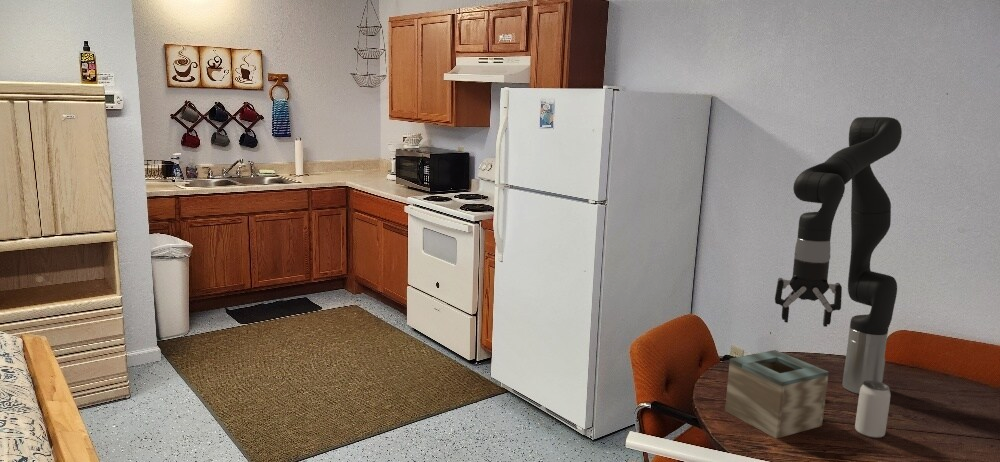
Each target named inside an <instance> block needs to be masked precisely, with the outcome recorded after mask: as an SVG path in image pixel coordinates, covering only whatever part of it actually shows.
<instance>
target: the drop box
mask: <svg viewBox="0 0 1000 462" xmlns="http://www.w3.org/2000/svg"><path fill="white" fill-rule="evenodd" d="M829 374H830V372H829V370H826V369H823V368H821V367H818V366H816V365H813V364H811V363H809V362H806V361H804V360H801V359H798V358H796V357H793V356H791V355H788V354H786V353H785V352H784V353H783V352H781V351H778V350H777V349H774V350H768V351H762V352H757V353H752V354H746V355H741V356H738V357H732V358H729V366H728V375H727V376H728V377H727V384H726V385H727V387H726V395H725V397H726V398H725V407H724V412H726V413H728V414H729V415H731V416H734V417H735V418H737V419H739V420H741V421H743V422H745V424H748V425H750V426H752V427H754V428H756V429H757V430H759V431H761V432H763V433H765V434H767V435H768V436H770V437H772V438H774V439H776V440H777V439H780V438H783V437H788V436H790V435H794V434H797V433H800V432H805V431H809V430H812V429H813V430H814V429H816V428H820V427H823V421H824V420H823V419H824V414H825V413H824V412H825V404H826V396H827V390H828V381H829Z"/></svg>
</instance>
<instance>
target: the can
mask: <svg viewBox="0 0 1000 462" xmlns="http://www.w3.org/2000/svg"><path fill="white" fill-rule="evenodd" d="M890 402H891V390H890V386H889V385H887V384H886V383H883V382H882V383H881V382H877V381H864V382H863V385H862V386H861V388H860V393H859V394H858V401H857V409H856V415H855V416H856V417H855V422H854V423H855V424H854V429H855V430H856V432H857V433H859V435H860V434H861V435H863V436H864V437H869V438H873V439H874V438H875V439H879V438H880V439H881V438H882V437H884V436H885V435H886V429H887V425H888V424H887V423H888V418H889V409H890V404H891V403H890Z"/></svg>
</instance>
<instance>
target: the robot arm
mask: <svg viewBox="0 0 1000 462" xmlns="http://www.w3.org/2000/svg"><path fill="white" fill-rule="evenodd" d="M902 132H903V130H902V125H901V123H900V121H899V120H898V119H897V118H894V117H890V116H889V117H888V116H861V117H860V116H859V117H856V118H854V119H853V120H852V122H851V123H850V125H849V131H848V146H847V147H844V148H842V149H839V150H838V151H836V152H834V153H833V154H832V155H830V157H828V159H826V160H825V161H824V162H822V163H818V164H816V165H814V166H811V167H808V168H806V169H804V170H803V171H802V172H800V174H798V176H797V177H795V179H794V183H793V194H794V195H795V197H796V198H797V199H798V200H800V201H802V202H806V203H814V204H821V206H820V208H819V210H818V211H812V212H809V211H808V212H804V213H802V214H801V215H800V216H799V220H798V229H797V238H796V242H795V247H794V254H793V255H794V259H793V265H792V266H793V267H792V268H793V269H792V277H791V279H784V278H782V277H779V278H778V279H777V284H776V288H775V289H776V290H775V295H774V296H775V297H774V303H775V304H776V305H779V306H781V307H782V309H781V319H782V320H783V322H784V323H786V324H787V323H788V324H789V313H790V305H791V304H793V302H795V301H796V300H797V299H800V300H801V301H802V300H803V301H804V300H805V301H806V300H808V301H813V302H816V301H819V302H820V303H821V305H822V306H823V307H824V310H823V318H822V319H823V320H822V326H823V327H825V328H827V327H828V325H830V324H831V322H832V313H833V311H841V309H842V297H843V296H842V295H843V293H842V292H843V289H842V285H841V283H840V282H836V283H829V282H828V278H829V268H830V259H831V237H832V229H833V222H834V219H835V216H836V214H837V210H838V209H839V206H840V204H841V201H842V199H843V197H844V193H845V189H846V184H848V183H849V182H850V181H851V198H850V199H851V200H850V202H851V203H850V223H851V224H850V225H851V226H850V228H851V229H850V230H851V232H850V233H851V241H850V242H851V244H850V245H851V246H850V259H849V270H848V277H847V278H848V280H847V293H848V297H849V298H850V299H851V300H852V301H853V302H855V303H859V304H862V305H866V306H869V307H871V308H870V311H869V314H857V315H854V316H852V317H851V319H850V324H849V330H848V331H849V332H848V339H847V347H846V353H845V363H844V368H843V376H842V388H844V389H845V390H847V391H849V392H851V393H854V394H856V395H857V394H858V395H859V393H860V388H861V386H862V385H863V382H864V381H877V382H881V383H883V380H884V372H885V364H886V357H885V354H886V348H887V341H888V333H889V327H890V325H891V322H892V319H893V315H894V309H895V304H896V299H897V295H898V283H897V280H896V278H895V277H894V276H891V275H889V274H885V273H881V272H876V271H872V270H871V259H872V255H873V252H874V251H875V249H876V248H877V246H878V245H879V244H880V243H881V242H882V240H883V239H884V237H885V236H886V235H887V234H888V232H889V230H890V227H891V222H892V221H891V218H892V217H891V216H892V209H891V208H892V204H891V200H890V197H889V195H888V193H887V192H886V190H885V188H884V187H883V185H882V184H881V183H880V182H879V180H878V179H877V177H876V175H875V174H874V172H873V170H872V166H871V165H872V164H874V163H875V162H877V161H879V160H881V159H882V158H884V157H886V156H888V155H890V154H893V153H894V152H895V150H897V148H898V147H899V145H900V143H901V140H902V136H903V135H902V134H903V133H902ZM787 286H790V288H791V289H792V291H791V292H790V293H789V294H787V297H785V298H784V299H783V298H782V295H783V290H785V289H786V288H787ZM829 290H830V291H831V293H832V294H834V296H833V297H834V298H833V299H834V300H833V303H830V302H829V301H828V300H827V298H826V296H825V295H824V294H826V292H828V291H829Z"/></svg>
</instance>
